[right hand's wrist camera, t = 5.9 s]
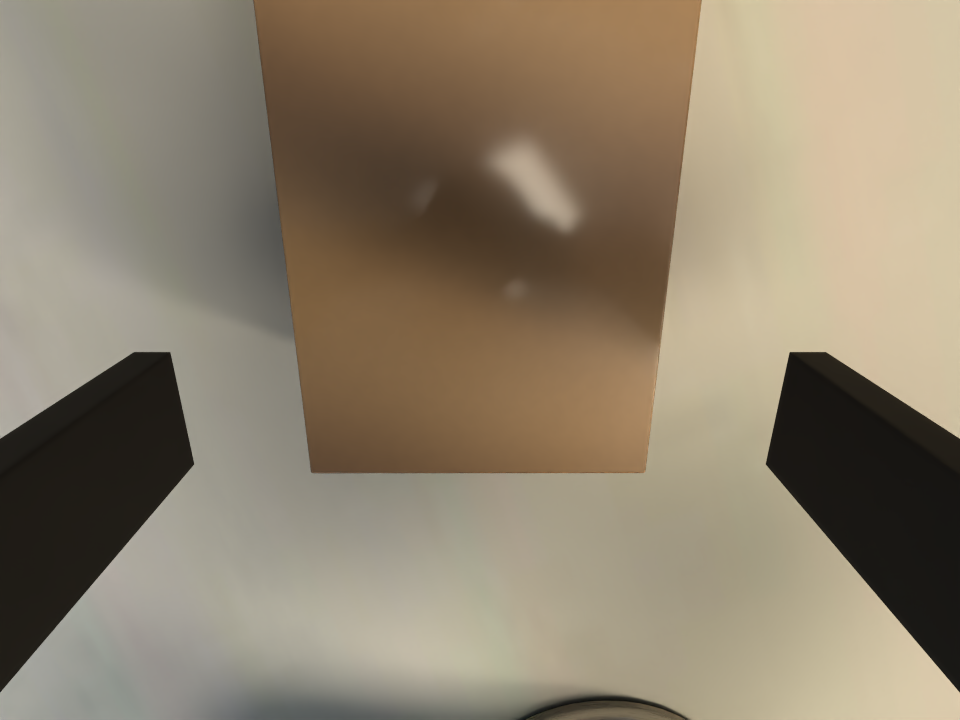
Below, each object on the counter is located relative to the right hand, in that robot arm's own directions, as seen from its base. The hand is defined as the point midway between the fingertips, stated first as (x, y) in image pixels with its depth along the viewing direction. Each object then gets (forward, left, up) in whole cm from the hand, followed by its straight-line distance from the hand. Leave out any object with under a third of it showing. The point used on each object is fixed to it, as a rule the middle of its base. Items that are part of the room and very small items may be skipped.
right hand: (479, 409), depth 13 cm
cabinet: (+3, -4, -12) cm, 13 cm away
